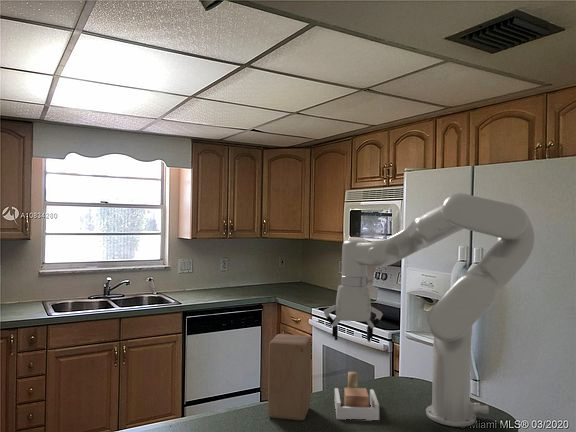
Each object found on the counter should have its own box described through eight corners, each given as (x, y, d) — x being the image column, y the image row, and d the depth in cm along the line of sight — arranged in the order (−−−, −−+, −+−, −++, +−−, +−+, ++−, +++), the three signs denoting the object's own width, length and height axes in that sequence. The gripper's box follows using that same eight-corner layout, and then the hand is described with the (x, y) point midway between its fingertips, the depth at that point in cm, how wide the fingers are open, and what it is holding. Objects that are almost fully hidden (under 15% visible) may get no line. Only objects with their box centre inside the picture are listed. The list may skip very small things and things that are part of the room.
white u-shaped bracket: (373, 403, 134) (373, 389, 134) (379, 420, 123) (379, 405, 123) (334, 402, 135) (334, 388, 135) (336, 419, 123) (336, 403, 123)
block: (362, 395, 140) (362, 371, 140) (368, 417, 125) (368, 390, 125) (341, 394, 141) (342, 371, 141) (345, 416, 125) (346, 390, 125)
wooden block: (304, 422, 121) (306, 344, 121) (266, 418, 123) (268, 341, 123) (310, 407, 131) (312, 335, 131) (275, 403, 133) (276, 332, 133)
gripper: (381, 281, 143) (379, 337, 143) (324, 279, 144) (322, 335, 144) (385, 284, 135) (383, 344, 135) (325, 282, 136) (323, 342, 136)
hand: (352, 339), depth 139 cm, fingers open, 9 cm apart
